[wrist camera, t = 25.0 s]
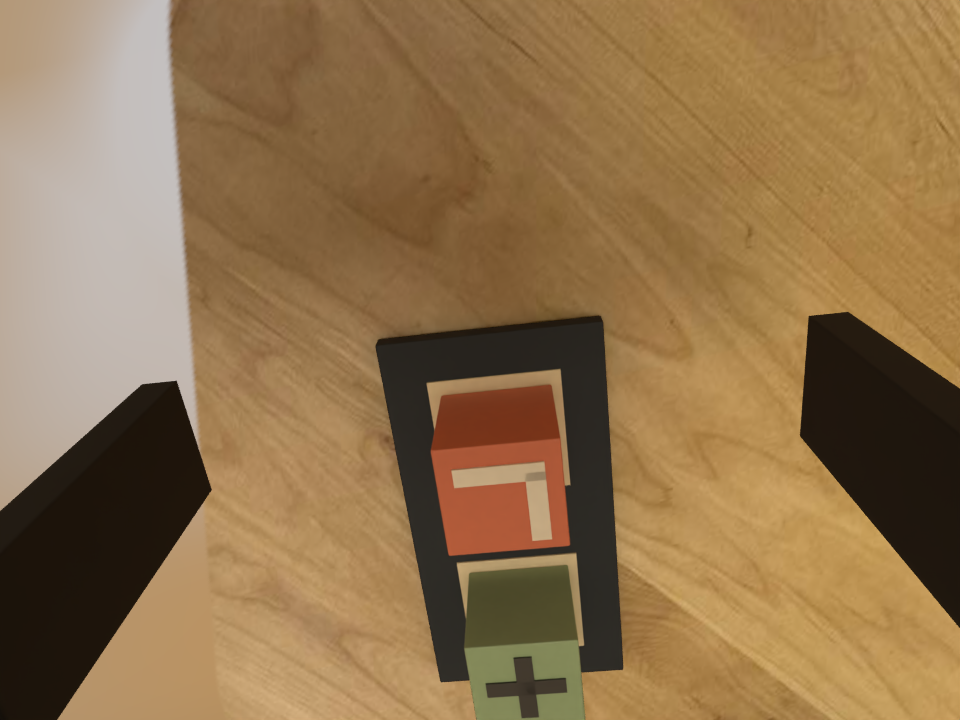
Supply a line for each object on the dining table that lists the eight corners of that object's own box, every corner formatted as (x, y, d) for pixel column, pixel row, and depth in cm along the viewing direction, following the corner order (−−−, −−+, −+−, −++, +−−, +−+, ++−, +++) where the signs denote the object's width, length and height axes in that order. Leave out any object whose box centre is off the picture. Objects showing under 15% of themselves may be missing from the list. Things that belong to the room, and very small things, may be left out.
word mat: (378, 339, 31) (374, 346, 30) (600, 315, 30) (603, 321, 29) (441, 671, 38) (440, 684, 37) (621, 658, 38) (623, 671, 37)
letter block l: (440, 395, 31) (429, 452, 26) (551, 384, 30) (560, 439, 26) (455, 489, 33) (448, 558, 28) (560, 479, 32) (570, 548, 28)
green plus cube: (468, 572, 34) (463, 650, 30) (567, 564, 34) (578, 641, 29) (480, 647, 36) (478, 732, 32) (574, 640, 36) (586, 725, 31)
